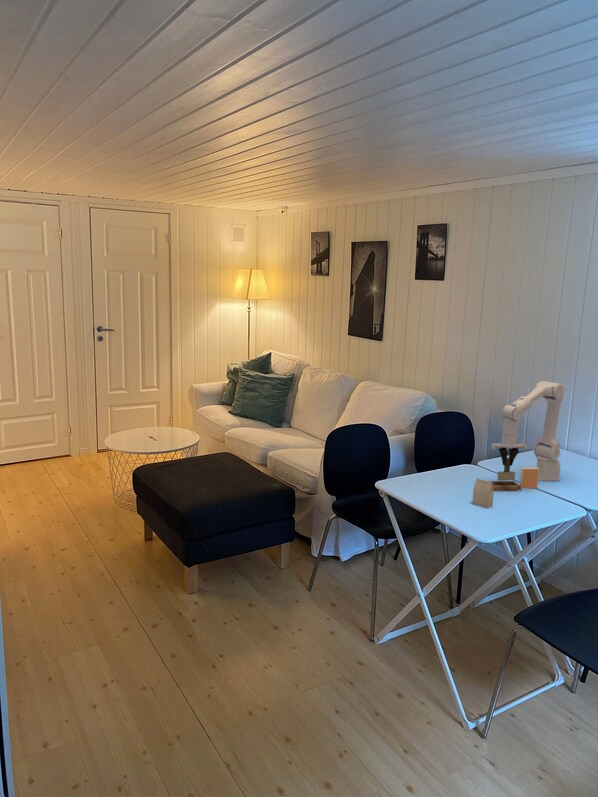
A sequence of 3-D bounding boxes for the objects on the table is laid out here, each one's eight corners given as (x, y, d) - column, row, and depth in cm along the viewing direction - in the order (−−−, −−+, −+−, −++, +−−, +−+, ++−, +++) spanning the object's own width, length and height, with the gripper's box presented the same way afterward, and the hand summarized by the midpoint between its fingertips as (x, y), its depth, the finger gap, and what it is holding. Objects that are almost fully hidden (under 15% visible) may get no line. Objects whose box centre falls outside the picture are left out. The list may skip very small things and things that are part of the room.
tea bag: (487, 508, 239) (489, 483, 238) (472, 503, 244) (474, 479, 242) (492, 505, 242) (494, 481, 240) (477, 501, 247) (478, 477, 245)
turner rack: (513, 485, 267) (514, 480, 266) (520, 491, 260) (521, 486, 259) (486, 485, 266) (486, 481, 265) (492, 491, 259) (492, 486, 258)
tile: (535, 487, 264) (537, 467, 263) (537, 488, 263) (539, 468, 261) (519, 487, 264) (521, 467, 262) (521, 489, 262) (523, 468, 260)
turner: (513, 479, 263) (515, 457, 262) (514, 480, 262) (516, 458, 260) (497, 479, 263) (499, 458, 261) (498, 480, 262) (500, 458, 260)
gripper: (522, 431, 263) (520, 462, 266) (489, 431, 262) (487, 462, 265) (529, 435, 256) (526, 467, 259) (495, 435, 255) (493, 467, 258)
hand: (507, 465), depth 261 cm, fingers closed on turner
